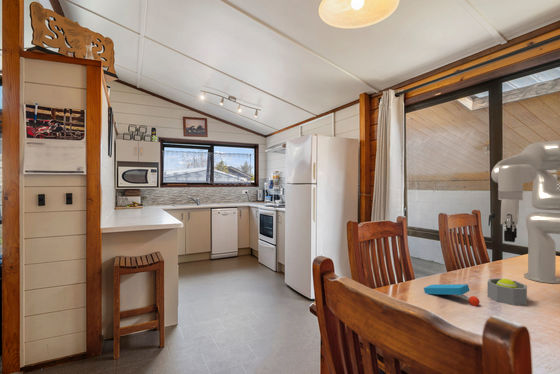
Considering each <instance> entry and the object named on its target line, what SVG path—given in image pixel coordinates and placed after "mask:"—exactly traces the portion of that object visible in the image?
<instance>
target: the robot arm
mask: <svg viewBox="0 0 560 374" xmlns="http://www.w3.org/2000/svg"><path fill="white" fill-rule="evenodd" d="M557 170H558V171H559V170H560V140H552V141H551V140H549V141H541V142H540V141H537V142H532V143H531V144H530V143H529V144H528V145H527V146H526V147H525V148H524V149H523V150H522V151H520V153H519V154H515V155H512V156H510V157H507V158H504V159H502V160H499V161H498V162H497V163H496V164H495V165H494V167H493V168H492V170H491V172H490V173H491V175H490V177H491V180H492V181H493V182H494V183H497V185H498V186H497V187H498V188H497V190H498V192H497V194H498V195H497V197H498V200H500V202H501V204H500V225H501V226H504V230H503V241H504V242H506V243H507V242H509V243H510V242H511V243H515V242H516V238H517V237H518V235H517V234H518V233H517V230H518V229H517V225H518V222H519V216H520V211H519V210H520V205H519V203H520V201H523V200H524V189H523V188H524V184H528V183H532V192H531V206H532V207H533V208H534V209H537V210H543V211H533V212H529V213H528V214H527V215H526V217H525V226H526V231H527V242H528V244H527V247H528V249H527V250H528V251H527V255H528V257H527V260H528V261H527V263H528V264H527V266H528V267H527V268H528V269H527V272H524V273H523V277H525V278H526V279H528V280H531V281H535V282H539V283H545V284H546V283H547V284H560V278H559V277H556V272H557V270H556V258H557V256H556V250H557V249H556V242H555V239H553V237H552V236H551V235H550V234H552V235H554V234H555V235H560V213H559V212H560V189H558V188H557V187H558V179H557V178H556V177H555V175H553V174H552V173H551V172H549V171H557ZM545 211H546V212H545ZM547 211H559V212H547Z"/></svg>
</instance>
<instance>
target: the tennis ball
mask: <svg viewBox="0 0 560 374" xmlns="http://www.w3.org/2000/svg"><path fill="white" fill-rule="evenodd" d="M500 279H501V280H499V281H498V282H497V284H496V285H499V286H504V287H509V288H518V287H517V285H516V284H515V283H514V282H513V281H514V280H512V281H511V279H508V278H500Z"/></svg>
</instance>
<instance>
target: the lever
mask: <svg viewBox="0 0 560 374" xmlns="http://www.w3.org/2000/svg"><path fill="white" fill-rule="evenodd" d="M423 291H424V294H427V295H449V296H450V295H452V296H454V295H455V296H457V297H458V298H459V297H460V298H462V299H463V300H467V301H468V303H469V305H471V306H473V307H477V306H479V305H480V301H481V300H480V299H479V298H478V297H477V296H474V295H473V296H470V297H469V296H467V295H465V294H466V293H469V292H470V287H469V285H468V284H464V283H463V284H456V283H455V284H454V283H453V284H449V283H448V284H430V285H428V286H425V287H423Z"/></svg>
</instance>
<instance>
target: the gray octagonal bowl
mask: <svg viewBox="0 0 560 374" xmlns="http://www.w3.org/2000/svg"><path fill="white" fill-rule="evenodd" d="M501 279H502V278H488V280H487V298H489V299H491V300H493V301H495V302H498V303H502V304H507V305H512V306H527V303H528V302H527V301H528V285H527V284H524V283H521V282H519V281H516V280H511V279H510V280H511V281H513V282H514V283H515V284H516V285H517V287H518V288H509V287H504V286H499V285H496V284H497V282H498V281H499V280H501Z"/></svg>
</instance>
